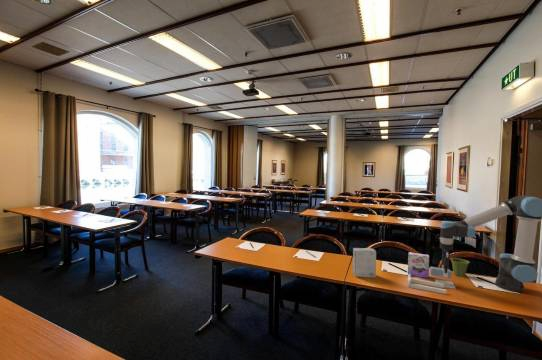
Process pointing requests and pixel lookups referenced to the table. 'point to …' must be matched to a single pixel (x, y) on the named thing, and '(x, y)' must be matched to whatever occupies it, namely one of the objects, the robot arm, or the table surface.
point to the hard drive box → (364, 262)
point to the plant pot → (459, 266)
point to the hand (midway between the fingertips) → (444, 275)
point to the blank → (439, 272)
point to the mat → (446, 283)
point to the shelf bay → (426, 286)
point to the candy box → (418, 265)
